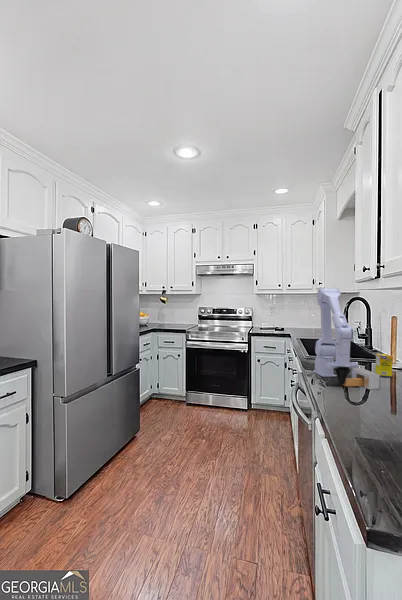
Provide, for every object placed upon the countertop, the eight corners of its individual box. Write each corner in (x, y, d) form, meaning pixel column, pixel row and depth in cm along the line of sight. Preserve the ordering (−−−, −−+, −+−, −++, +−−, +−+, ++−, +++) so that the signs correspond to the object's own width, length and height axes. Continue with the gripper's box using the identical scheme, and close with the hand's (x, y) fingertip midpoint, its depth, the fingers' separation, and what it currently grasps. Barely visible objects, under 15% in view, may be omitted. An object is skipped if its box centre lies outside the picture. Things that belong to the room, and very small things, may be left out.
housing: (351, 381, 146) (352, 368, 146) (361, 381, 147) (361, 368, 147) (368, 389, 135) (369, 374, 134) (378, 389, 135) (379, 374, 135)
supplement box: (392, 378, 155) (393, 356, 154) (379, 377, 156) (380, 355, 155) (387, 374, 160) (388, 354, 160) (374, 374, 162) (375, 353, 161)
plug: (341, 384, 141) (341, 374, 141) (373, 383, 144) (374, 373, 144) (346, 387, 137) (347, 377, 137) (380, 385, 140) (380, 376, 140)
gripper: (333, 355, 133) (332, 386, 134) (363, 355, 136) (362, 385, 136) (324, 352, 140) (323, 381, 141) (353, 352, 143) (351, 381, 143)
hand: (341, 383), depth 139 cm, fingers closed
